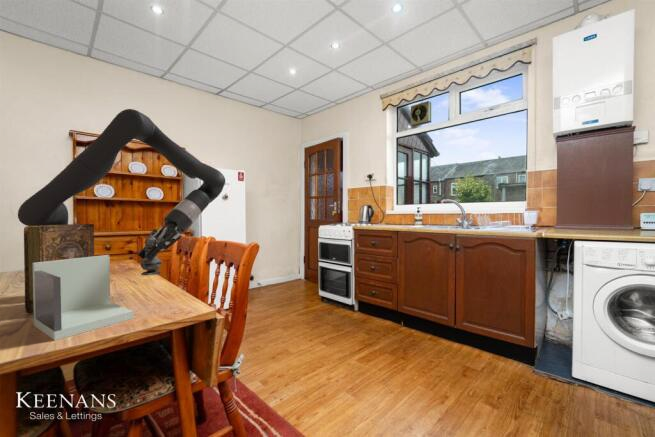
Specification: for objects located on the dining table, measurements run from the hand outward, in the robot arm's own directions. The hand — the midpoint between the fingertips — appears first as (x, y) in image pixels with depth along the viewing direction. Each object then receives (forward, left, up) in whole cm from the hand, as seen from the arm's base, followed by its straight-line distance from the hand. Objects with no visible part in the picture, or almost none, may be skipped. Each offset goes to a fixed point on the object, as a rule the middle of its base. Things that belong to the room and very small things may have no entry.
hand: (144, 257), depth 85 cm
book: (-24, -12, -16) cm, 31 cm away
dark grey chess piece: (0, +2, -5) cm, 6 cm away
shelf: (-3, -13, -15) cm, 21 cm away
